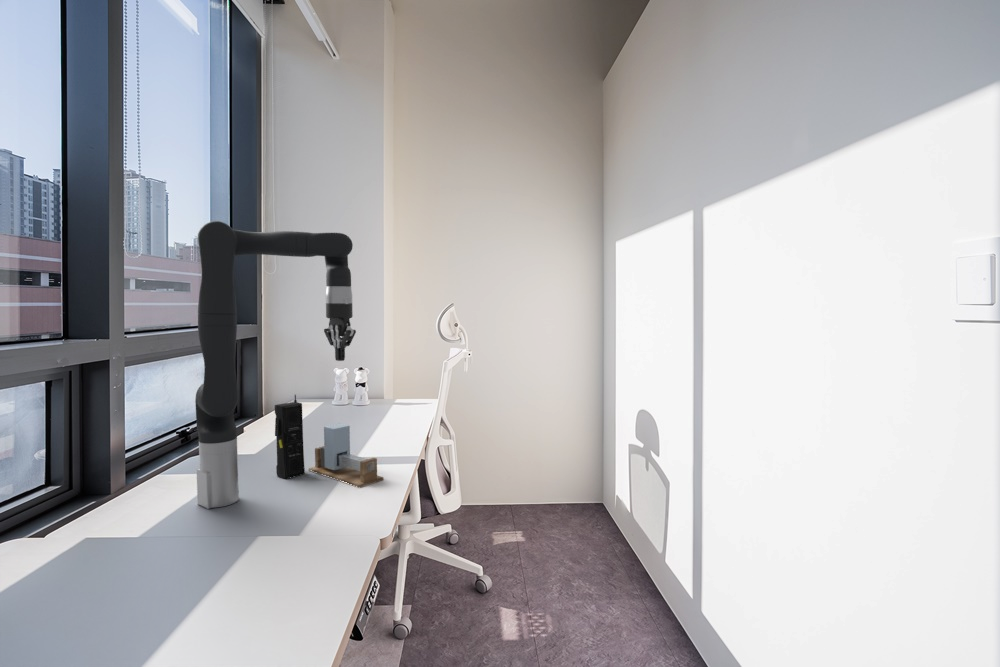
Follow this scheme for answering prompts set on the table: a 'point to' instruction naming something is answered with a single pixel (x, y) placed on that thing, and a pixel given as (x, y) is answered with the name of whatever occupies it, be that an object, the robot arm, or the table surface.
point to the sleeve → (335, 444)
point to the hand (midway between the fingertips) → (340, 360)
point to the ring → (322, 457)
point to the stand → (349, 472)
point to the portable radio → (289, 439)
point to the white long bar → (351, 461)
